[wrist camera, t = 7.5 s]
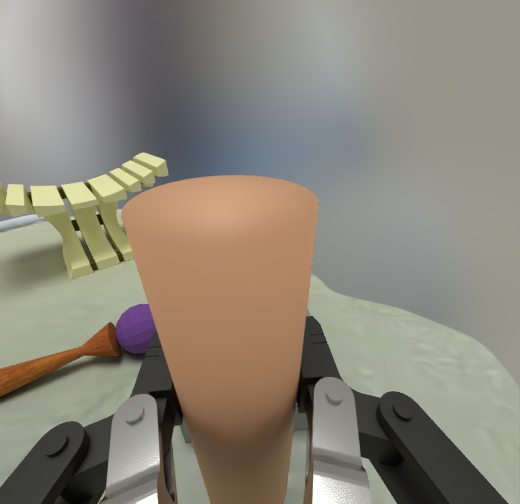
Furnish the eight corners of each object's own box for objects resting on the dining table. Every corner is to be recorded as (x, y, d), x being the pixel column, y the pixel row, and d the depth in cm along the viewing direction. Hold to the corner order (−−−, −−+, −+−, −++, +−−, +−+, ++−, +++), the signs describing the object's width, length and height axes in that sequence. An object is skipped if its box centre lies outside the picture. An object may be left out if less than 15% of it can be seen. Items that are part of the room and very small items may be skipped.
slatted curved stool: (156, 221, 68) (139, 150, 59) (182, 242, 57) (165, 160, 48) (11, 261, 52) (-44, 172, 43) (9, 300, 41) (-65, 193, 32)
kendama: (-29, 353, 28) (158, 289, 34) (2, 390, 30) (171, 324, 37) (-67, 395, 23) (161, 311, 29) (-27, 437, 25) (176, 350, 31)
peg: (204, 538, 12) (76, 250, 4) (211, 434, 16) (153, 177, 8) (294, 526, 12) (351, 235, 4) (280, 427, 16) (295, 173, 8)
